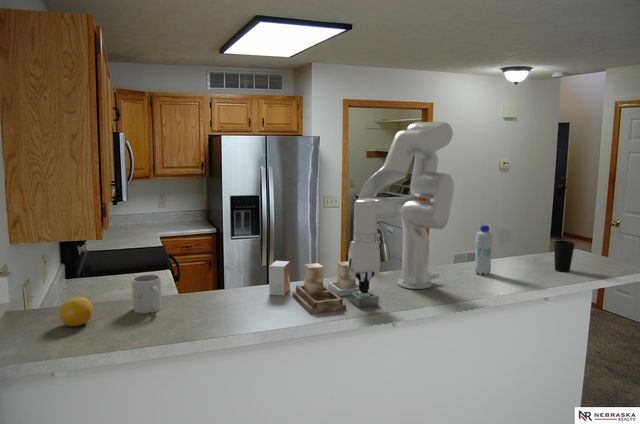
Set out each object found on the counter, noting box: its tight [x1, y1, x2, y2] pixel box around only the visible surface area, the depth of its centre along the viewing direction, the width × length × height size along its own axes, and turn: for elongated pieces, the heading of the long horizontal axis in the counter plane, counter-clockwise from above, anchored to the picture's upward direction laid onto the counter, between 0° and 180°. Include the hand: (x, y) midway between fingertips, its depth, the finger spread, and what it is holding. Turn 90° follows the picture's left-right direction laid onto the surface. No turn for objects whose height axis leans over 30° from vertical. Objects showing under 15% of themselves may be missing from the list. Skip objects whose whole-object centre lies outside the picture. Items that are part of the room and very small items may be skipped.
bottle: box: [474, 224, 494, 276], centre depth 199 cm, size 7×7×20 cm
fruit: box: [58, 296, 94, 327], centre depth 143 cm, size 9×8×8 cm
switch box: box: [349, 290, 380, 309], centre depth 164 cm, size 7×7×3 cm
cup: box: [553, 240, 576, 273], centre depth 206 cm, size 8×8×12 cm
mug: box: [131, 274, 163, 314], centre depth 156 cm, size 12×9×10 cm
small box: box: [268, 260, 291, 297], centre depth 175 cm, size 8×6×10 cm
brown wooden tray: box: [292, 283, 347, 315], centre depth 164 cm, size 12×19×4 cm, turn 20°
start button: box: [358, 290, 370, 297], centre depth 164 cm, size 4×4×3 cm
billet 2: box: [336, 261, 357, 290], centre depth 177 cm, size 5×5×10 cm
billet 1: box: [303, 262, 324, 293], centre depth 168 cm, size 5×5×10 cm
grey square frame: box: [327, 280, 360, 297], centre depth 178 cm, size 10×11×2 cm
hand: (363, 292), depth 163 cm, fingers closed
